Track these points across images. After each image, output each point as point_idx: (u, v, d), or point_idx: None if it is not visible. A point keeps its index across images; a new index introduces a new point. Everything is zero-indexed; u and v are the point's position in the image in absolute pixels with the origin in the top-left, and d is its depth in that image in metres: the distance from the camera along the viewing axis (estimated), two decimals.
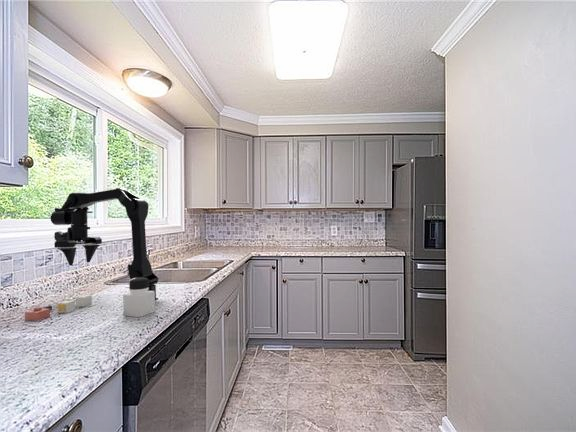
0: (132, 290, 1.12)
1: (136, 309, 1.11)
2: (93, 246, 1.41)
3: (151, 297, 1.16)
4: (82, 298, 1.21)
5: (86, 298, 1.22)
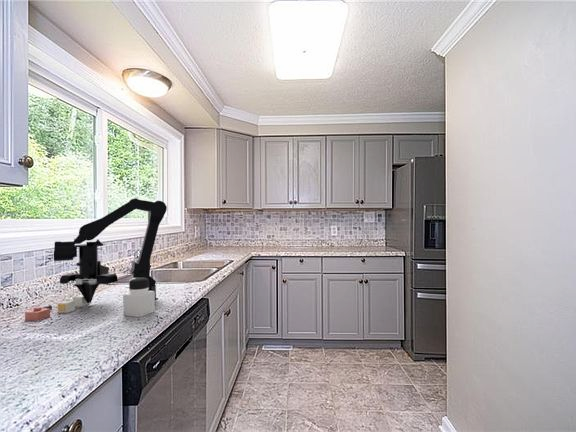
0: (132, 290, 1.12)
1: (136, 309, 1.11)
2: None
3: (151, 297, 1.16)
4: (79, 298, 1.21)
5: (83, 298, 1.22)
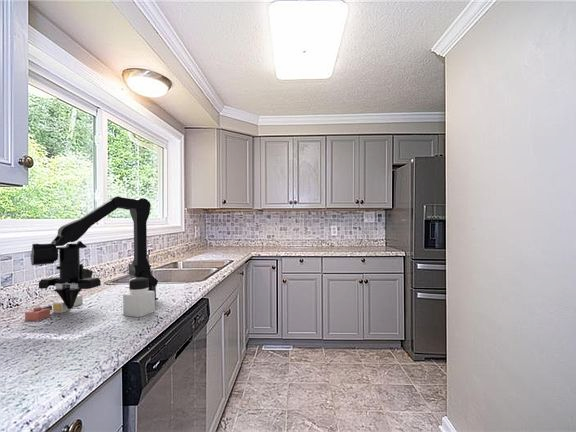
0: (132, 290, 1.12)
1: (136, 309, 1.11)
2: None
3: (151, 297, 1.16)
4: None
5: (77, 298, 1.22)
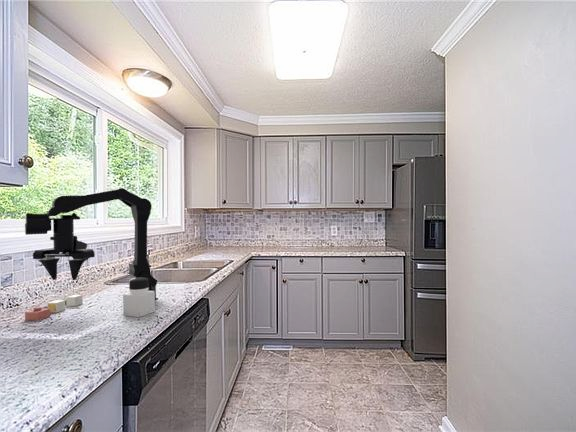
0: (132, 290, 1.12)
1: (136, 309, 1.11)
2: None
3: (151, 297, 1.16)
4: (73, 298, 1.21)
5: (77, 298, 1.22)
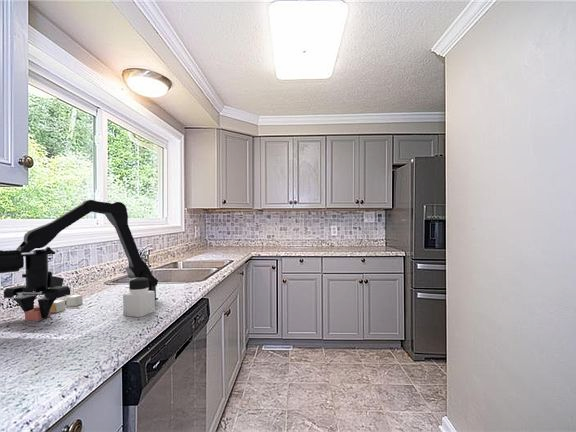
0: (132, 290, 1.12)
1: (136, 309, 1.11)
2: None
3: (151, 297, 1.16)
4: (73, 298, 1.21)
5: (77, 298, 1.22)
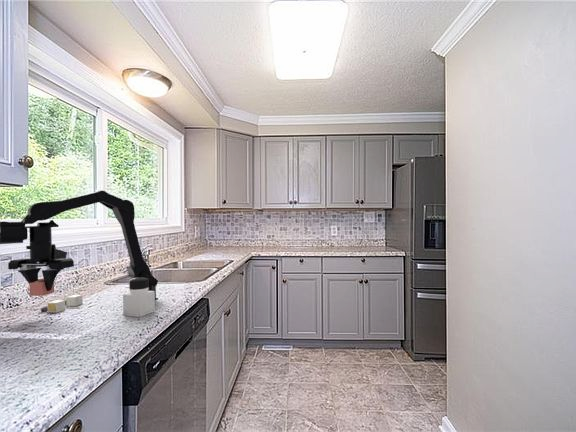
0: (132, 290, 1.12)
1: (136, 309, 1.11)
2: None
3: (151, 297, 1.16)
4: (73, 298, 1.21)
5: (77, 298, 1.22)
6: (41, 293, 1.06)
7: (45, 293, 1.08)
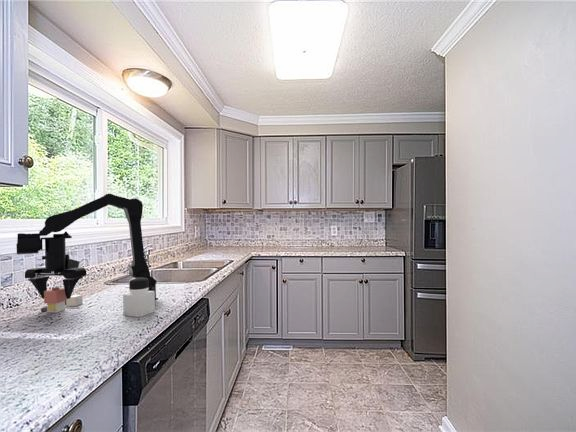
0: (132, 290, 1.12)
1: (136, 309, 1.11)
2: None
3: (151, 297, 1.16)
4: (73, 298, 1.21)
5: (77, 298, 1.22)
6: (55, 301, 1.12)
7: (59, 301, 1.14)
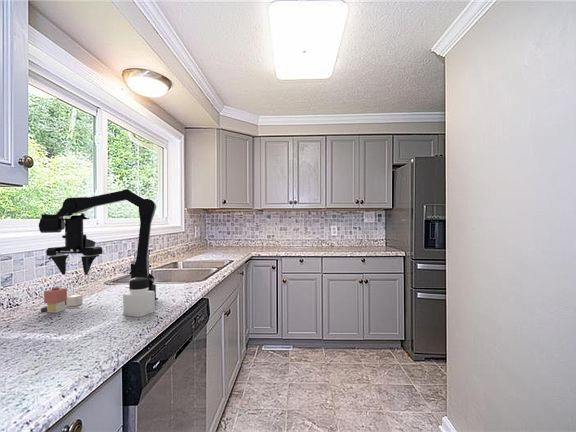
0: (132, 290, 1.12)
1: (136, 309, 1.11)
2: None
3: (151, 297, 1.16)
4: (73, 298, 1.21)
5: (77, 298, 1.22)
6: (55, 301, 1.12)
7: (59, 301, 1.14)
